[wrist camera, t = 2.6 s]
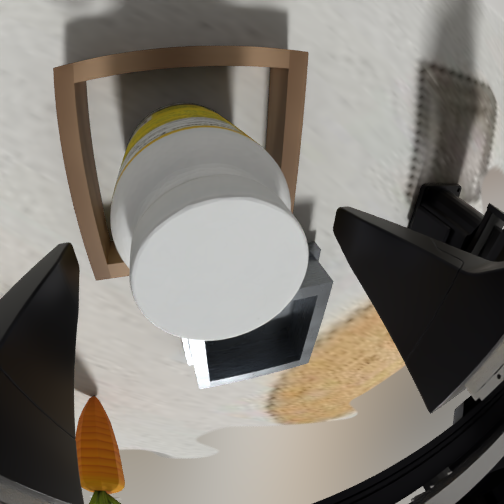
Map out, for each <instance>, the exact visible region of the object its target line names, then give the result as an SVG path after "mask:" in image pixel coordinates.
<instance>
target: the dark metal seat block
mask: <svg viewBox="0 0 504 504" xmlns="http://www.w3.org/2000/svg"><path fill="white" fill-rule="evenodd" d="M308 251H309V257H308V266H307V270H306V274H305V277H304V279H303V282H302V284H301V286H300V288H299V290H298V291H297V293H296V294H295V296H294V297H293V299H292V300H291V301H290V302H289V303H288V305H287V306H286V307H285V308H284V309H283V310H282V311H281V312H280V313H279V314H277V315H276V316H275V317H274V318H272V319H271V320H270V321H268V322H267V323H265V324H263V325H262V326H260V327H258V328H256V329H254V330H252V331H249V332H247V333H244V334H242V335H239V336H236V337H232V338H227V339H222V340H214V341H199V340H190V339H184V338H182V341H183V345H184V350H185V354H186V359H187V363H188V365H192V364H193V365H194V369H195V373H196V378H197V382H198V386H199V389H203V388H209V387H214V386H219V385H224V384H228V383H233V382H238V381H242V380H246V379H251V378H255V377H259V376H263V375H267V374H271V373H274V372H278V371H282V370H286V369H289V368H293V367H296V366H300V365H303V364H306V363H308V362H309V359H310V356H311V353H312V350H313V347H314V344H315V341H316V338H317V335H318V332H319V328H320V325H321V322H322V319H323V315H324V312H325V309H326V305H327V302H328V298H329V295H330V291H331V288H332V284H333V280H332V279H331V278H330V276H329V275H328V274H327V272H326V271H325V270H324V268H323V267H322V266H321V264H320V263H319V262H318V261H319V256H320V251H321V249H320V248H319V247H318V245H317V244H316V243H315V242H313V243H308Z"/></svg>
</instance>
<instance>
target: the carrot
mask: <svg viewBox="0 0 504 504" xmlns="http://www.w3.org/2000/svg"><path fill="white" fill-rule="evenodd" d="M75 440H76V448H77V459H78V467H79V475H80V482H81V487H82V488H84V489H86V490H88V491H90V492H94V494H93V496H92V498H91V501H90V503H89V504H121V503H119V502H118V501H117V500H115V499H114V498H113V497H112V496H110V495H109V494H112V493H116V492H119V491H121V490H122V489H123V488H124V485H125V480H124V475H123V470H122V465H121V459H120V455H119V449H118V445H117V442H116V439H115V435H114V432H113V429H112V426H111V423H110V420H109V418H108V416H107V414H106V412H105V410H104V408H103V406H102V405H101V403H100V401H99V400H98V399H97V398H96V397H95V396H93V397H91V398H90V399H89V400H88V402H87V403H86V405H85V407H84V408H83V411H82V413H81V415H80V418H79V421H78V426H77V431H76V439H75Z"/></svg>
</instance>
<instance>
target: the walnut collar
mask: <svg viewBox="0 0 504 504" xmlns="http://www.w3.org/2000/svg"><path fill="white" fill-rule="evenodd" d="M195 66H259V67H270V84H269V102H268V120H267V137H266V151H267V152H268V153H269V154H270V155H271V157H272V158H273V159H274V160H275V162H276V163H277V164H278V166H279V168H280V169H281V171H282V173H283V175H284V177H285V179H286V182H287V185H288V189H289V193H290V199H291V212H292V214H293V208H294V200H295V191H296V183H297V174H298V165H299V155H300V145H301V135H302V125H303V114H304V103H305V91H306V79H307V66H308V52H303V51H296V50H287V49H277V48H266V47H250V46H185V47H170V48H158V49H148V50H140V51H132V52H125V53H119V54H113V55H107V56H102V57H97V58H92V59H88V60H83V61H79V62H75V63H71V64H67V65H63V66H59V67H56V68H53V72H54V88H55V100H56V110H57V119H58V127H59V134H60V141H61V147H62V153H63V159H64V164H65V169H66V175H67V179H68V184H69V189H70V193H71V197H72V201H73V206H74V210H75V213H76V217H77V221H78V225H79V228H80V232H81V235H82V239H83V242H84V245H85V249H86V252H87V255H88V258H89V261H90V264H91V267H92V270H93V273H94V276H95V279H96V280H103V279H110V278H117V277H123V276H129V274H130V269H129V268H128V266H127V265H126V264H125V263H124V261H123V260H122V258H121V256H120V255H119V253H118V251H117V248H116V246H115V243H114V241H111V240H110V236H109V232H108V227H107V223H106V219H105V214H104V209H103V205H102V200H101V195H100V190H99V184H98V179H97V173H96V167H95V161H94V154H93V147H92V140H91V132H90V123H89V113H88V102H87V88H86V81H87V80H91V79H96V78H101V77H107V76H112V75H118V74H124V73H131V72H138V71H146V70H155V69H166V68H178V67H195Z"/></svg>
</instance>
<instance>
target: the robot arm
mask: <svg viewBox="0 0 504 504" xmlns="http://www.w3.org/2000/svg"><path fill="white" fill-rule="evenodd" d="M460 192H461V186H460V185H458V184H424V185H423V186H422V187H421V190H420V194H419V197H418V201H417V204H416V207H415V211H414V214H413V217H412V220H411V223H410V226H409V229H408V228H406V227H403V226H401V225H398V224H395V223H393V222H390V221H387V220H385V219H382V218H379V217H377V216H374V215H371V214H368V213H366V212H363V211H360V210H357V209H354V208H351V207H339V208H338V209H337V211H336V216H335V221H334V226H333V232H334V235H335V237H336V239H337V241H338V243H339V245H340V247H341V249H342V251H343V253H344V255H345V257H346V259H347V261H348V263H349V265H350V267H351V269H352V270H353V272H354V274H355V275H356V277H357V279H358V280H359V282H360V283H361V285H362V287H363V289H364V290H365V292H366V294H367V295H368V297H369V299H370V300H371V302H372V304H373V306H374V307H375V309H376V311H377V313H378V314H379V316H380V318H381V320H382V321H383V323H384V325H385V327H386V329H387V330H388V332H389V334H390V336H391V338H392V339H393V341H394V343H395V345H396V347H397V349H398V351H399V353H400V354H401V356H402V358H403V360H404V362H405V364H406V366H407V368H408V370H409V372H410V374H411V376H412V378H413V380H414V382H415V384H416V386H417V388H418V390H419V392H420V394H421V396H422V398H423V400H424V403H425V405H426V407H427V409H428V411H429V412H430V413H433V412H434V411H436V410H437V409H438V408H440V407H441V406H442V405H444V404H446V403H447V402H448V401H450V400H451V399H453V398H454V397H455V396H457V395H458V394H459V393H460V392H462V391H463V390H465V389H466V388H467V390H468V391H469V393H470V394H471V396H470V397H469V398H468V399H466V400H465V401H464V402H463V403H462V404H461V405H459V406H458V407H457V408H456V409H455V413H454V421H453V425H452V426H451V427H450V428H448V429H447V430H446V431H444V432H443V433H442V434H441V435H439V436H438V437H436V438H435V439H433V440H432V441H431V442H429V443H428V444H426V445H425V446H423V447H422V448H420V449H419V450H417V451H416V452H414V453H413V454H411V455H409V456H408V457H407V458H405V459H403V460H401V461H400V462H398V463H396V464H395V465H393V466H391V467H389V468H388V469H386V470H384V471H382V472H381V473H379V474H377V475H375V476H373V477H371V478H369V479H367V480H365V481H363V482H361V483H359V484H357V485H355V486H353V487H351V488H349V489H346V490H344V491H342V492H340V493H338V494H335V495H333V496H331V497H328V498H326V499H323V500H321V501H318V502H316V503H313V504H395V503H397V502H399V501H400V500H401V499H403V498H405V497H406V496H408V495H410V494H411V493H413V492H414V491H416V490H417V489H419V488H420V487H421V486H423V487H424V489H425V492H423V493H422V494H419V495H417V496H415V497H414V498H412V499H411V501H412V502H411V503H409V504H504V229H503V230H502V228H503V226H504V212H502V211H501V210H499V209H498V208H496V207H494V206H493V205H492V204H490V203H489V204H488V207H487V211H486V213H485V215H483V214H481V213H480V212H479V211H477V210H476V209H475V208H473V207H472V206H470V205H469V204H468V203H466V202H465V201H463V200H462V199H461V198H459V195H460ZM79 272H80V270H79V264H78V261H77V258H76V255H75V252H74V249H73V246H72V244H71V243H62V244H59V245H57V246H56V247H55V248H54V249H53V250H52V251H51V252H49V253H48V254H47V255H46V256H45V257H44V258H43V259H42V260H40V261H39V262H38V263H37V264H36V265H35V266H34V267H33V268H32V269H31V270H30V271H29V272H27V273H26V274H25V275H24V276H23V277H22V278H21V279H20V280H19V281H18V282H17V283H16V284H15V285H14V286H13V287H12V288H11V289H10V290H9V291H8V292H7V293H6V294H5V295H4V296H3V297H2V298H1V299H0V504H84V501H83V495H82V489H81V482H80V475H79V467H78V459H77V448H76V440H75V439H76V437H75V419H74V365H75V346H76V333H77V322H78V311H79Z"/></svg>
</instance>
